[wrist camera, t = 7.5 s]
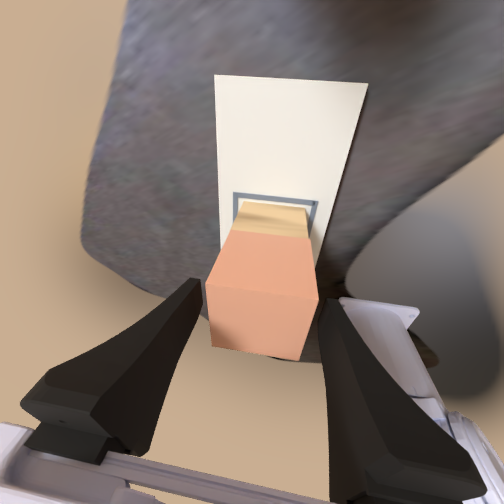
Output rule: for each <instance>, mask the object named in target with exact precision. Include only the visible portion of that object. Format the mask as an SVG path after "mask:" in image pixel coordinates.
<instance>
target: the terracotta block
mask: <svg viewBox="0 0 504 504" xmlns="http://www.w3.org/2000/svg"><path fill="white" fill-rule="evenodd" d="M205 285H206V295H207V304H208V313H209V323H210V332H211V341H212V346H214V347H220V348H226V349H232V350H237V351H243V352H249V353H256V354H261V355H267V356H273V357H278V358H284V359H290V360H296V361H299V358H300V355H301V352H302V349H303V346H304V343H305V340H306V337H307V334H308V331H309V328H310V325H311V322H312V319H313V316H314V313H315V310H316V307H317V304H318V301H319V298H318V290H317V283H316V276H315V269H314V261H313V254H312V247H311V240H310V239H306V238H297V237H289V236H280V235H272V234H263V233H255V232H247V231H238V230H230V232H229V234H228V237H227V239H226V241H225V243H224V245H223V247H222V249H221V251H220V254H219V256H218V258H217V260H216V262H215V264H214V266H213V269H212V271H211V273H210V275H209V277H208V279H207V281H206V283H205Z"/></svg>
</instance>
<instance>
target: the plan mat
mask: <svg viewBox="0 0 504 504" xmlns="http://www.w3.org/2000/svg"><path fill="white" fill-rule="evenodd" d="M214 76H215V103H216V130H217V157H218V184H219V211H220V238H221V249H222V247H223V245H224V243H225V241H226V239H227V237H228V234H229V232H230V229H231V227H232V225H233V223H234V220H235V218H236V216H237V214H238V212H239V210H240V208H241V206H242V204H243V202H244V201H248V202H257V203H266V204H275V205H284V206H293V207H302V208H305V213H306V221H307V229H308V237H309V239H310V240H311V247H312V254H313V261H314V269H315V266H316V262H317V259H318V256H319V252H320V249H321V245H322V242H323V238H324V235H325V231H326V228H327V225H328V221H329V218H330V214H331V211H332V207H333V204H334V200H335V197H336V193H337V190H338V187H339V183H340V180H341V176H342V173H343V169H344V166H345V162H346V159H347V156H348V152H349V149H350V145H351V142H352V138H353V135H354V131H355V128H356V124H357V121H358V118H359V114H360V111H361V107H362V104H363V100H364V97H365V93H366V90H367V86H368V83H350V82H332V81H315V80H297V79H279V78H262V77H244V76H227V75H214Z"/></svg>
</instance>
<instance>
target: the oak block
mask: <svg viewBox="0 0 504 504" xmlns="http://www.w3.org/2000/svg"><path fill="white" fill-rule="evenodd" d="M230 230H238V231H247V232H255V233H263V234H272V235H280V236H289V237H297V238H306V239H309V237H308V229H307V221H306V213H305V208H302V207H293V206H284V205H275V204H266V203H257V202H248V201H244V202H243V204H242V206H241V208H240V210H239V212H238V214H237V216H236V218H235V220H234V223H233V225H232V227H231V229H230Z"/></svg>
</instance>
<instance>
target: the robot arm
mask: <svg viewBox="0 0 504 504" xmlns="http://www.w3.org/2000/svg"><path fill="white" fill-rule="evenodd" d="M342 304H343V305H342ZM202 305H203V299H202V290H201V282H200V279H195V278H189V279H188V280H187V281H186V282H185V283H184V284H183V285H181V286H180V287H179V288H178V289H177V290H176V291H175V292H174V293H173V294H172V295H170V296H169V297H168V298H167V299H166V300H165V301H163V302H162V303H161V304H160V305H159V306H157V307H156V308H155V309H154V310H152V311H151V312H150V313H149V314H148V315H146V316H145V317H143V318H142V319H140V320H139V321H138V322H136V323H135V324H133V325H132V326H130V327H129V328H127V329H126V330H124V331H123V332H121V333H119V334H118V335H116V336H115V337H113V338H111V339H109V340H108V341H106V342H104V343H103V344H100V345H99V346H97V347H95V348H93V349H91V350H89V351H87V352H85V353H83V354H81V355H79V356H77V357H75V358H73V359H71V360H69V361H66V362H64V363H62V364H60V365H58V366H56V367H53V368H51V369H49V371H47V372H46V373H45V375H44V376H43V377H42V378H41V379H40V380H39V381H38V382H37V383H36V384H35V386H34V387H33V388H32V389H31V390H30V391H29V392H28V393H27V394H26V396H25V397H24V398H23V399H22V400H21V402H20V406H21V407H22V409H24V410H25V411H26V412H28V413H29V414H31V415H32V416H33V417H35V418H36V419H38V420H40V421H41V423H40V424H39V426H38V427H37V428H36V430H34V429H32V428H29V427H25V426H21V425H16V424H12V423H8V422H2V423H0V504H165V503H162V502H160V501H158V500H157V499H155V496H152V495H149V494H146V493H142V492H139V491H136V490H133V489H130V485H129V483H131V484H135V485H139V486H144V487H148V488H152V489H156V490H160V491H165V492H168V493H173V494H177V495H181V496H185V497H189V498H193V499H197V500H201V501H205V502H210V503H214V504H504V464H503V462H502V461H501V459H500V458H499V456H498V454H497V453H496V451H495V450H494V448H493V447H492V445H491V444H490V442H489V441H488V439H487V438H486V436H485V435H484V434H483V432H482V431H481V429H480V428H479V427H478V426H477V425H476V423H475V422H473V421H472V420H470V419H468V418H467V417H464V416H463V415H462V414H461V413H459V412H457V411H455V412H449V411H448V410H447V409H446V408H445V405H444V403H443V401H442V399H441V398H440V396H439V393H438V392H437V389H436V387H435V386H434V384H433V382H432V380H431V378H430V376H429V374H428V372H427V370H426V368H425V366H424V364H423V362H422V360H421V358H420V356H419V354H418V352H417V350H416V348H415V346H414V344H413V342H412V340H411V338H410V336H409V334H408V332H407V329H408V327H409V326H410V325H411V323H412V322H413V321H414V320H415V318H416V317H417V316H418V314H419V313H420V311H419V310H418V309H417V308H416V307H409V306H403V305H396V304H389V303H382V302H375V301H368V300H361V299H354V298H347V297H341V298H339V300H338V299H332V298H326V300H325V303H324V306H323V308H322V311H321V314H320V316H319V319H318V340H319V346H320V353H321V359H322V365H323V372H324V378H325V386H326V398H327V416H328V439H329V497H330V502H328V501H323V500H319V499H314V498H310V497H306V496H301V495H297V494H293V493H289V492H285V491H280V490H276V489H271V488H267V487H263V486H258V485H254V484H250V483H246V482H241V481H237V480H233V479H228V478H224V477H219V476H215V475H211V474H207V473H202V472H198V471H193V470H189V469H185V468H181V467H176V466H172V465H167V464H163V463H159V462H155V461H150V460H146V459H142V458H137V457H133V456H138V457H141V456H143V455H144V454H145V453H147V452H148V451H149V449H150V445H151V441H152V438H153V435H154V431H155V428H156V425H157V421H158V418H159V415H160V412H161V409H162V406H163V403H164V400H165V397H166V394H167V391H168V388H169V385H170V382H171V379H172V377H173V374H174V371H175V368H176V366H177V363H178V360H179V358H180V356H181V354H182V351H183V349H184V347H185V345H186V343H187V341H188V339H189V337H190V335H191V332H192V330H193V328H194V326H195V324H196V322H197V319H198V317H199V314H200V311H201V308H202ZM125 454H127V455H125ZM129 455H133V456H129Z"/></svg>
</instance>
